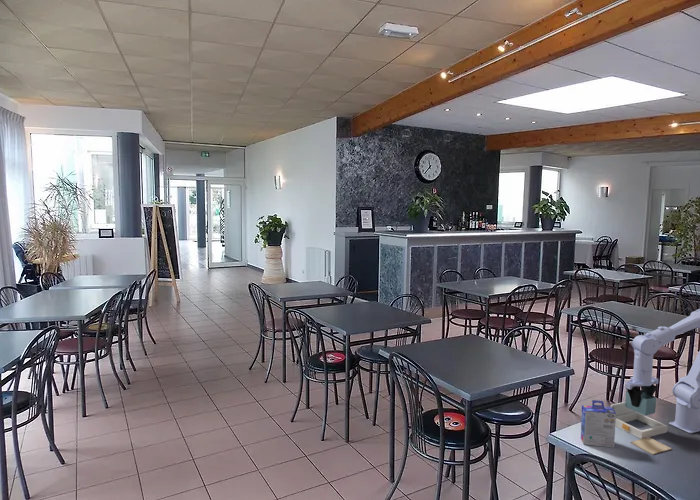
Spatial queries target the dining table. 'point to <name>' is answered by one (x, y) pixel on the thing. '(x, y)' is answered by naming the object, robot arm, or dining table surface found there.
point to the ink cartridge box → (598, 425)
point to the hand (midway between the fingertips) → (640, 404)
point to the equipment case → (657, 426)
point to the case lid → (621, 409)
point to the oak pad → (651, 445)
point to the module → (642, 404)
